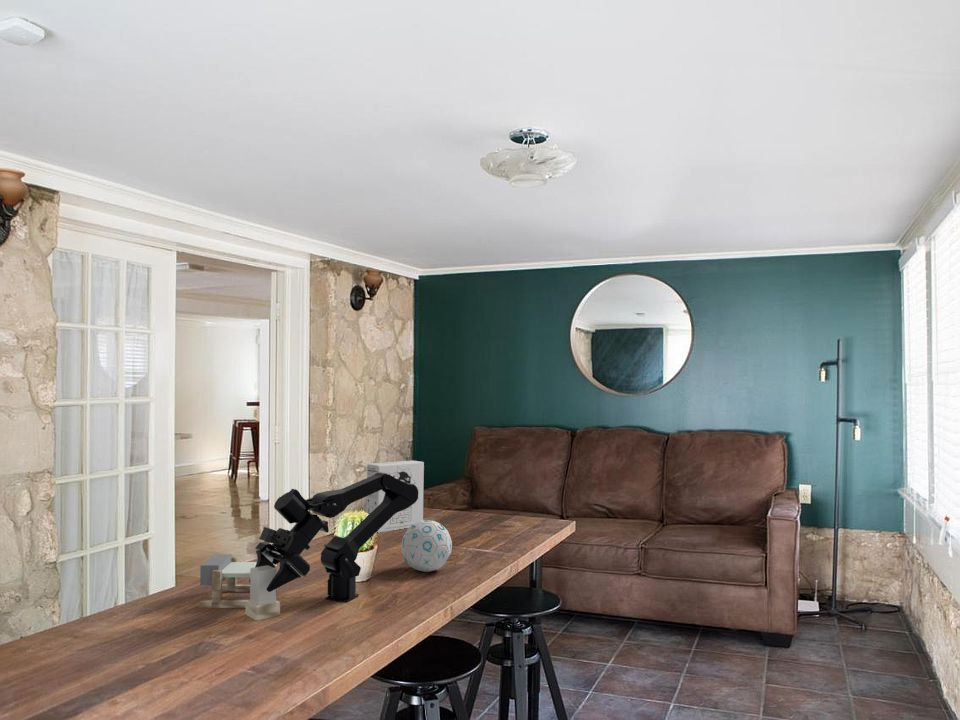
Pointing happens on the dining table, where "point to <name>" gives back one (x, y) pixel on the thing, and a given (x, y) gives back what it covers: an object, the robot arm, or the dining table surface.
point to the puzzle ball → (426, 545)
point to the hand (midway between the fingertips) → (259, 586)
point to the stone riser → (262, 610)
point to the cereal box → (408, 474)
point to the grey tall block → (262, 585)
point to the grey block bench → (219, 588)
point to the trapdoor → (224, 568)
